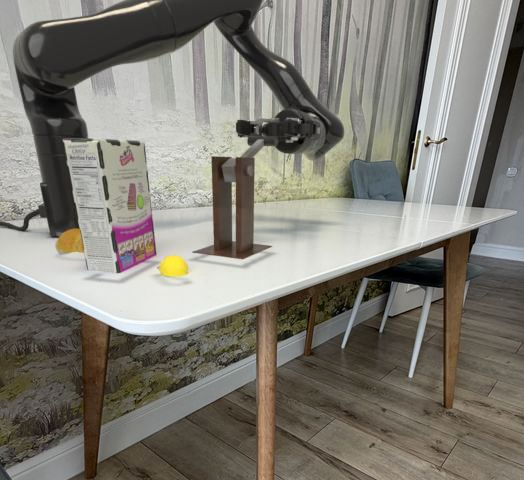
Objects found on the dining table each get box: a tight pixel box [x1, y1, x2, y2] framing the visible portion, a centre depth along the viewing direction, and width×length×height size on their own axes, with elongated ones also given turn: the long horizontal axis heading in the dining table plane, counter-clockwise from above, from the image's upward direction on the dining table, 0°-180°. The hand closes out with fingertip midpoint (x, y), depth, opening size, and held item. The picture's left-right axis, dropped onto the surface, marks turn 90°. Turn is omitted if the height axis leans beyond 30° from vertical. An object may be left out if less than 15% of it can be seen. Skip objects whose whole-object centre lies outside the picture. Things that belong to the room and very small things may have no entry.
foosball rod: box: [222, 135, 278, 183], centre depth 62 cm, size 13×5×2 cm, turn 155°
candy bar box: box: [63, 137, 157, 274], centre depth 52 cm, size 11×5×16 cm, turn 168°
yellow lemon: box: [156, 254, 189, 277], centre depth 51 cm, size 3×6×4 cm, turn 44°
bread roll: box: [54, 229, 84, 255], centre depth 63 cm, size 8×9×4 cm
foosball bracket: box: [191, 156, 273, 260], centre depth 62 cm, size 11×9×15 cm
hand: (261, 126), depth 64 cm, fingers open, 8 cm apart
